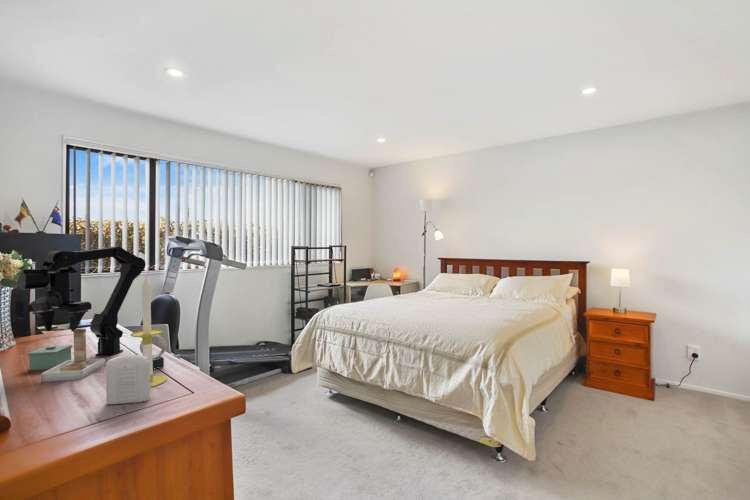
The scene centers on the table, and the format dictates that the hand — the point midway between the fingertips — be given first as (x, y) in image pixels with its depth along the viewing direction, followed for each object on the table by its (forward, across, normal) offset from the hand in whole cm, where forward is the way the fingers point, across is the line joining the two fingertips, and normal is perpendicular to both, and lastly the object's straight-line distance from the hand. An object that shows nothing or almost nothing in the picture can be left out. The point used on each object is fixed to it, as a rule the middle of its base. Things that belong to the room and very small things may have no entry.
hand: (60, 331), depth 130 cm
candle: (+12, +42, -14) cm, 46 cm away
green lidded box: (+12, -4, 0) cm, 13 cm away
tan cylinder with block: (+11, +12, -6) cm, 17 cm away
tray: (+12, +12, -7) cm, 18 cm away
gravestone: (+12, +46, -27) cm, 55 cm away
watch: (+12, +34, 0) cm, 36 cm away
